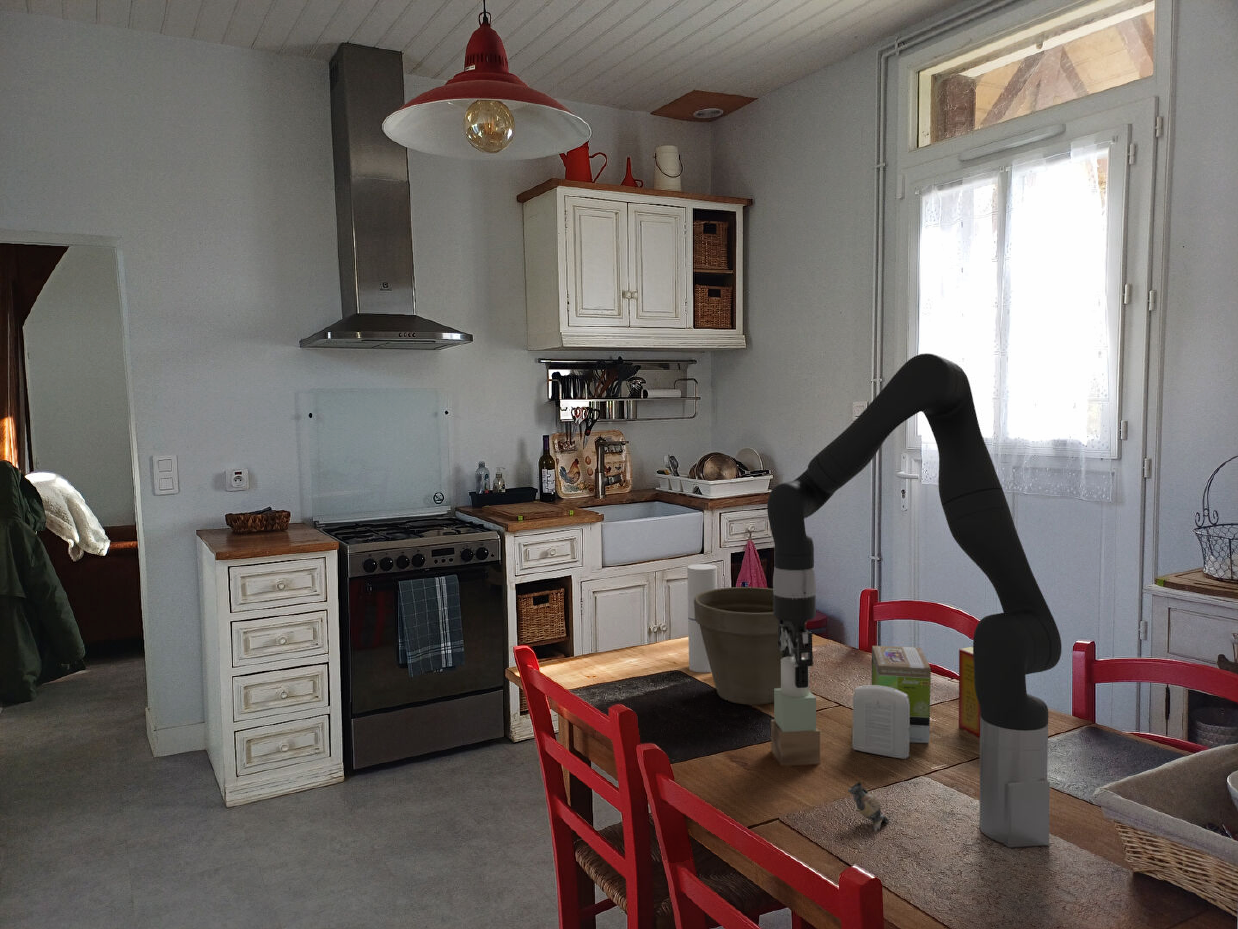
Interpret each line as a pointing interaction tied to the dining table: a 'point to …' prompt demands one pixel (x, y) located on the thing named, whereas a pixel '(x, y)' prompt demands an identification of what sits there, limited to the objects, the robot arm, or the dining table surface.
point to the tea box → (906, 683)
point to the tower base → (795, 746)
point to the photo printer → (881, 721)
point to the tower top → (794, 712)
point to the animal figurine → (868, 805)
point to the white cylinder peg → (791, 679)
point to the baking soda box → (968, 694)
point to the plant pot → (741, 642)
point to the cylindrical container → (698, 582)
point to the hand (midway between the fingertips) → (794, 680)
